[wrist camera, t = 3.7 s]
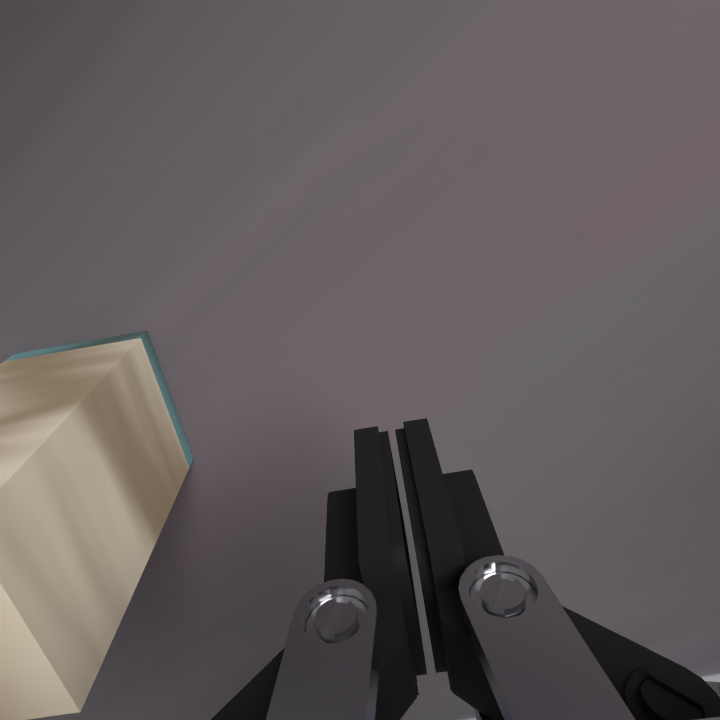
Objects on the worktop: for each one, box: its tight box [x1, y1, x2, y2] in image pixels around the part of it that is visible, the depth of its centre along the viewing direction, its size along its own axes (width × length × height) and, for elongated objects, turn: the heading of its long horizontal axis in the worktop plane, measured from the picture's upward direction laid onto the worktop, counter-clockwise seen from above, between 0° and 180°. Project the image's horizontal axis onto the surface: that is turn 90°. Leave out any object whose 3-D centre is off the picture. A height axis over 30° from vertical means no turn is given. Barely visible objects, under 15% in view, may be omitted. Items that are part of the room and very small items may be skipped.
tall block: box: [0, 331, 194, 720], centre depth 14 cm, size 4×5×9 cm
